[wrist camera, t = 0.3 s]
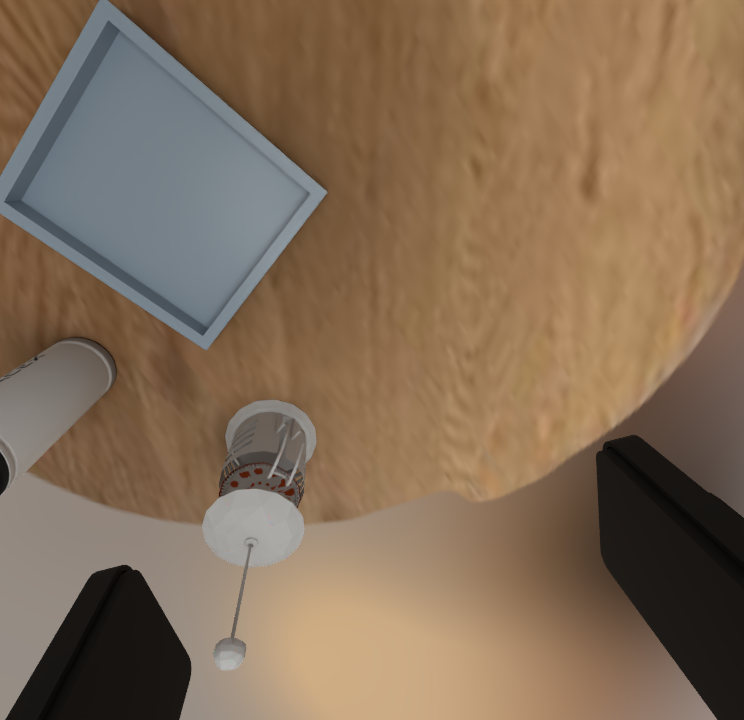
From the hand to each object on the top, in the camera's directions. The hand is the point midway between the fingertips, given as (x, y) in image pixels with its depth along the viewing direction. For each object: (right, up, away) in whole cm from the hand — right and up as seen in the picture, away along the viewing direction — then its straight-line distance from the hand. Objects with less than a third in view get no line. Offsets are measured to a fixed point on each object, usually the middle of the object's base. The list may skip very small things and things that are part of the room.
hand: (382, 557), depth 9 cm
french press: (-11, -4, +41) cm, 42 cm away
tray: (-18, +18, +31) cm, 40 cm away
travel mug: (-28, +3, +36) cm, 46 cm away
